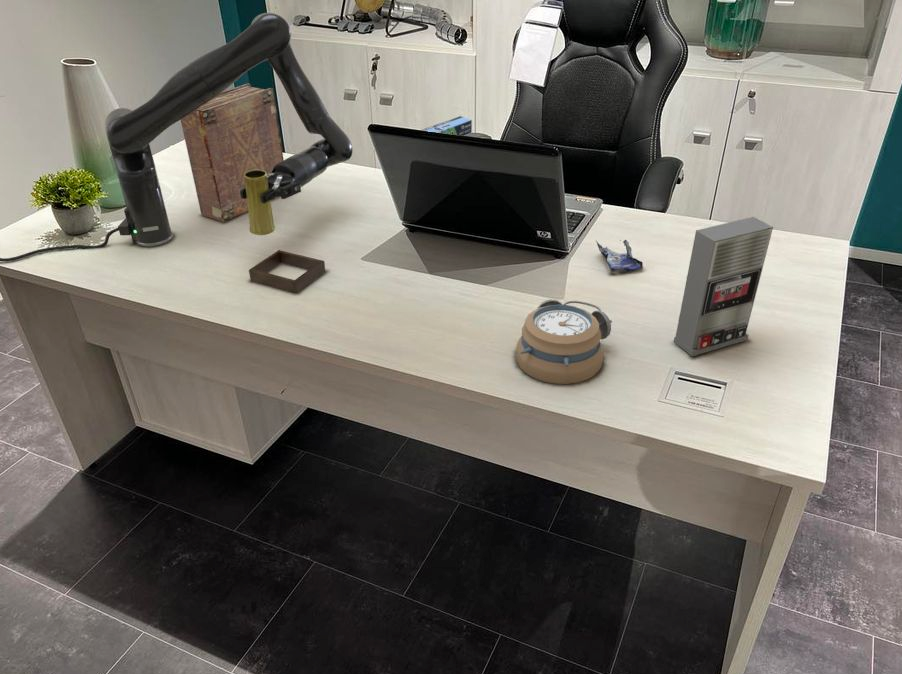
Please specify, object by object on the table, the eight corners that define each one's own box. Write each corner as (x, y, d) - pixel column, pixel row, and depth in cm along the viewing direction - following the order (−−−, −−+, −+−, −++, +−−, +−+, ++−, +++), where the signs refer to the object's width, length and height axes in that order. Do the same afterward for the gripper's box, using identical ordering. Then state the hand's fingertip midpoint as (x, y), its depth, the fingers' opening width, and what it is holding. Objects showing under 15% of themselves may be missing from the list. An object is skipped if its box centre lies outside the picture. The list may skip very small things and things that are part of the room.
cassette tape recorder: (692, 358, 151) (717, 243, 137) (673, 342, 156) (694, 230, 141) (747, 341, 156) (777, 228, 141) (727, 327, 160) (753, 216, 146)
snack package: (641, 254, 188) (593, 249, 190) (646, 232, 184) (596, 228, 185) (640, 284, 180) (590, 279, 182) (645, 262, 175) (594, 257, 177)
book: (266, 185, 229) (249, 82, 212) (288, 192, 225) (273, 87, 207) (201, 215, 213) (177, 106, 195) (223, 223, 208) (201, 112, 191)
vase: (280, 227, 186) (273, 171, 177) (265, 237, 182) (258, 180, 173) (259, 222, 188) (252, 166, 179) (244, 232, 184) (236, 175, 175)
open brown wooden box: (250, 281, 181) (248, 270, 180) (280, 260, 190) (278, 249, 188) (297, 293, 176) (295, 282, 174) (325, 271, 184) (324, 260, 182)
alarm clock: (503, 330, 144) (549, 277, 160) (501, 370, 150) (546, 315, 166) (589, 353, 137) (628, 295, 153) (584, 394, 143) (623, 334, 159)
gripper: (270, 153, 190) (224, 176, 178) (317, 162, 184) (273, 187, 173) (274, 181, 195) (230, 206, 183) (320, 191, 189) (278, 217, 177)
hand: (251, 197), depth 178 cm, fingers closed on vase, 5 cm apart
